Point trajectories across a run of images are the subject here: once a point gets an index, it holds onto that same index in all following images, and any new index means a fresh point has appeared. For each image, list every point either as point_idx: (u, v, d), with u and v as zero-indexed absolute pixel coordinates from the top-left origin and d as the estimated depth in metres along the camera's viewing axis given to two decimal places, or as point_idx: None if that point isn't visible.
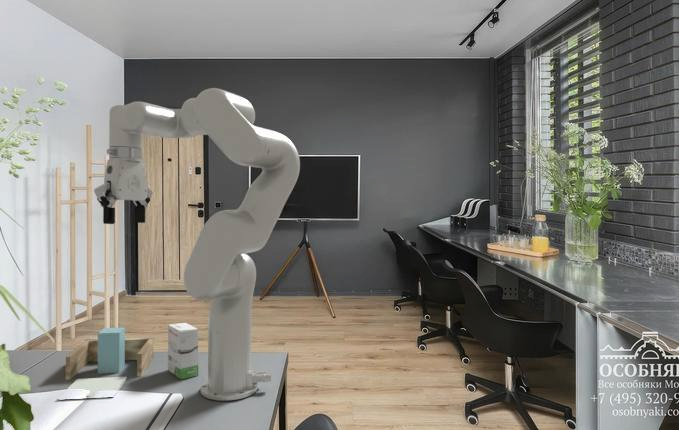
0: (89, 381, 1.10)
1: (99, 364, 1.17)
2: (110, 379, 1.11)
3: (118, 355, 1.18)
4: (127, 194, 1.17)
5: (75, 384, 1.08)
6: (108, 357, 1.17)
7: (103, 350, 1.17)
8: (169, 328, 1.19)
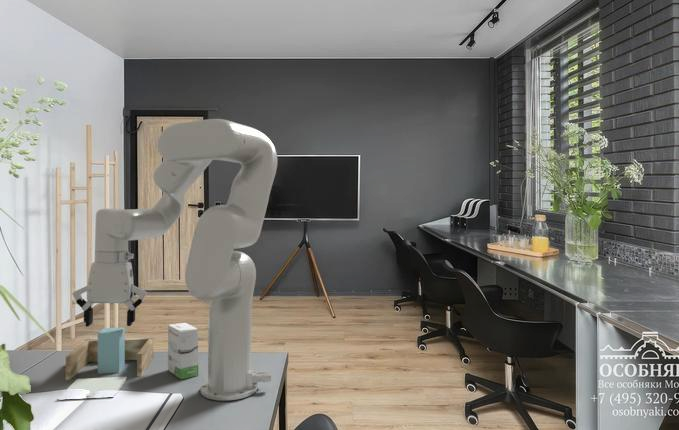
0: (89, 381, 1.10)
1: (99, 364, 1.17)
2: (110, 379, 1.11)
3: (118, 355, 1.18)
4: None
5: (75, 384, 1.08)
6: (108, 357, 1.17)
7: (103, 350, 1.17)
8: (169, 328, 1.19)
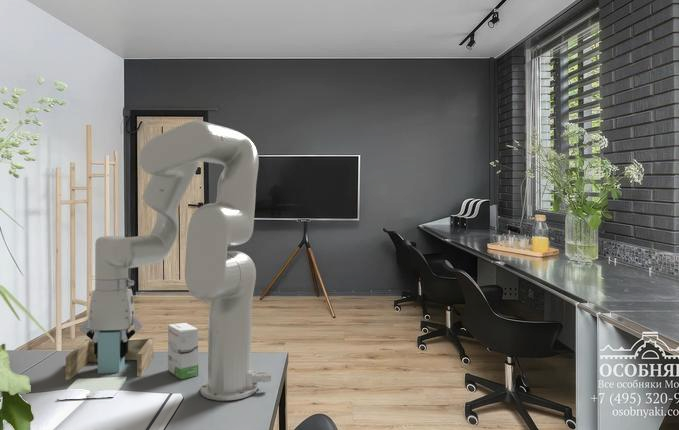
0: (89, 381, 1.10)
1: (99, 364, 1.17)
2: (110, 379, 1.11)
3: (118, 355, 1.18)
4: None
5: (75, 384, 1.08)
6: (108, 356, 1.17)
7: (103, 350, 1.17)
8: (169, 328, 1.19)
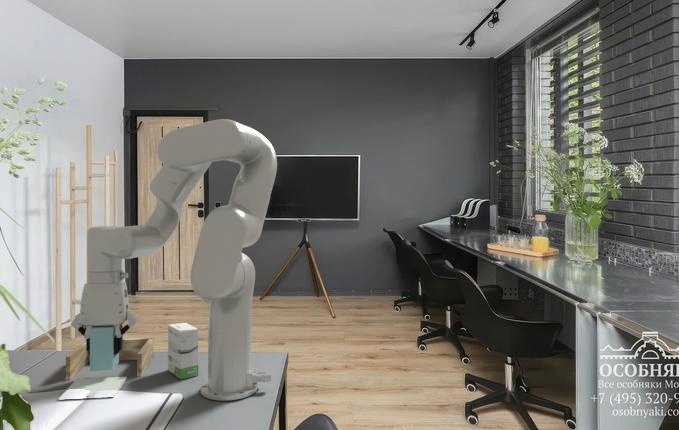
0: (89, 381, 1.10)
1: (91, 361, 1.11)
2: (110, 379, 1.11)
3: (111, 351, 1.12)
4: None
5: (75, 384, 1.08)
6: (101, 353, 1.11)
7: (96, 346, 1.11)
8: (169, 328, 1.19)
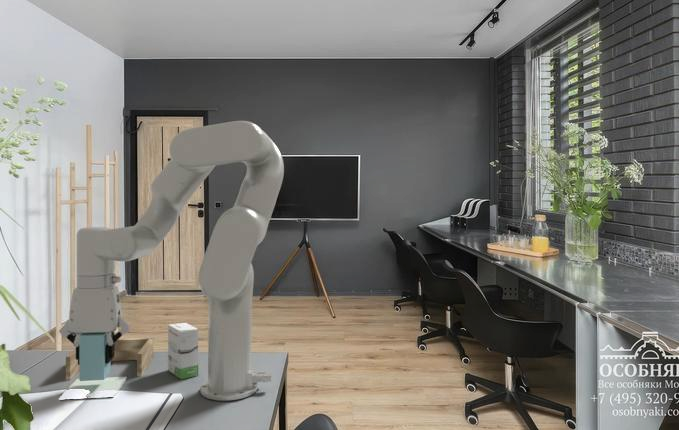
0: (89, 381, 1.10)
1: (81, 371, 1.04)
2: (110, 379, 1.11)
3: (102, 360, 1.05)
4: None
5: (75, 384, 1.08)
6: (91, 362, 1.05)
7: (86, 354, 1.04)
8: (169, 328, 1.19)
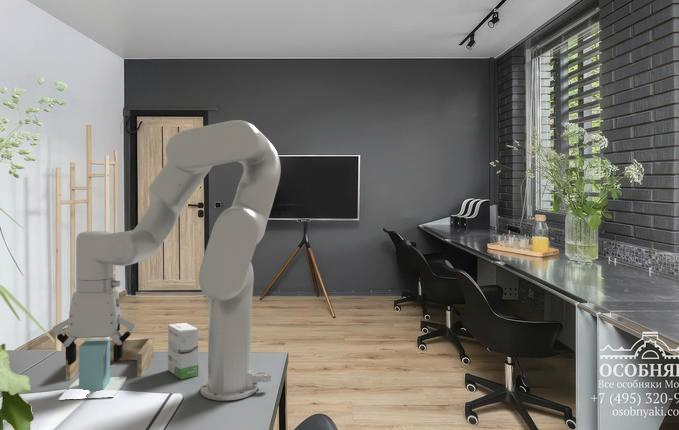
0: None
1: (80, 381, 1.04)
2: (110, 379, 1.11)
3: (102, 371, 1.05)
4: None
5: (75, 384, 1.08)
6: (91, 372, 1.04)
7: (85, 365, 1.04)
8: (169, 328, 1.19)
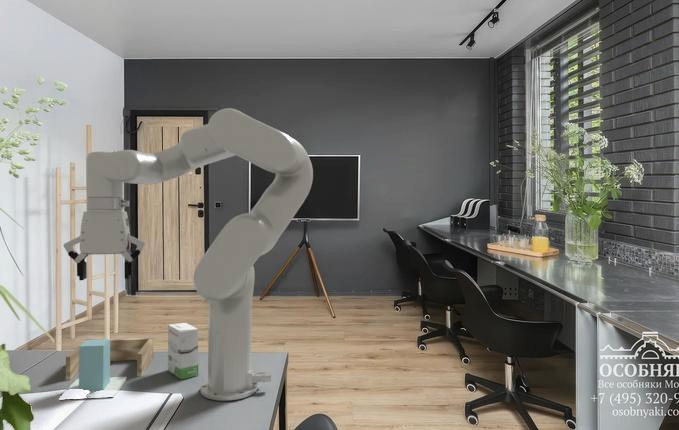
0: None
1: (80, 381, 1.04)
2: (110, 379, 1.11)
3: (102, 371, 1.05)
4: None
5: (75, 384, 1.08)
6: (91, 372, 1.04)
7: (85, 365, 1.04)
8: (169, 328, 1.19)
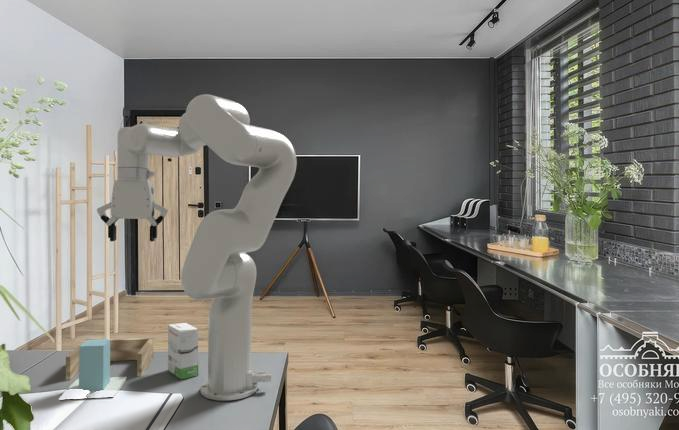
0: None
1: (80, 381, 1.04)
2: (110, 379, 1.11)
3: (102, 371, 1.05)
4: None
5: (75, 384, 1.08)
6: (91, 372, 1.04)
7: (85, 365, 1.04)
8: (169, 328, 1.19)
